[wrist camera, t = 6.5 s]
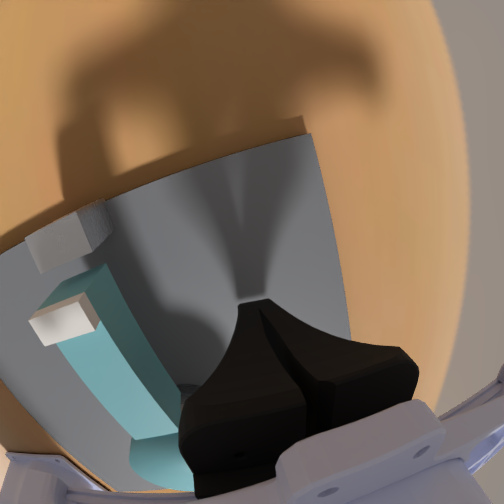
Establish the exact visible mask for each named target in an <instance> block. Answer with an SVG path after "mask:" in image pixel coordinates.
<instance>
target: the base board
mask: <svg viewBox="0 0 504 504" xmlns="http://www.w3.org/2000/svg"><path fill="white" fill-rule="evenodd" d="M105 202H106V204H107V207H108V210H109V212H110V215H111V217H112V220H113V223H114V225H115V228H116V229H115V230H114V231H113V232H112V233H111V234H110V235H109V236H108V237H107V238H106V239H105V240H104V241H103V242H102V243H101V244H100V245H99V246H98V247H97V248H96V249H95V250H94V251H93V252H91V253H89V254H86V255H84V256H81V257H79V258H77V259H74V260H72V261H70V262H67V263H65V264H63V265H60V266H58V267H56V268H53V269H51V270H49V271H47V272H44V273H42V274H40V272H39V270H38V268H37V266H36V264H35V261H34V259H33V257H32V255H31V252H30V250H29V248H28V245H27V243H26V241H25V240H24V241H23V242H21V243H19V244H17V245H15V246H14V247H12V248H10V249H8V250H7V251H5V252H3V253H2V254H0V379H1V380H2V381H3V383H4V384H5V385H6V386H7V388H8V389H9V390H10V392H11V393H12V394H13V395H14V396H15V398H16V399H17V400H18V401H19V402H20V404H21V405H22V406H23V407H24V408H25V409H26V410H27V412H28V413H29V414H30V415H31V416H32V417H33V418H34V419H35V420H36V421H37V422H38V424H39V425H40V426H41V427H42V428H43V429H44V430H45V431H46V432H47V433H48V434H49V435H50V436H51V437H52V438H53V439H54V440H55V441H57V442H58V443H59V444H60V445H61V446H62V447H63V448H64V449H65V450H66V451H67V452H68V453H70V454H71V455H72V456H73V457H74V458H75V459H76V460H78V461H79V462H80V463H81V464H82V465H84V466H85V467H86V468H87V469H89V470H90V471H91V472H92V473H94V474H95V475H96V476H97V477H99V478H100V479H101V480H103V481H104V482H105V483H107V484H108V485H110V486H111V487H112V488H114V489H115V490H117V491H118V492H123V491H147V490H160V489H168V488H164V487H161V486H158V485H155V484H153V483H151V482H148V481H147V480H145V479H143V478H142V477H140V476H139V475H138V474H136V473H135V472H134V470H133V469H132V468H131V466H130V463H129V453H130V444H131V438H132V436H131V435H130V434H129V433H128V432H127V431H126V430H125V429H124V428H123V427H122V426H121V425H120V424H119V423H118V422H117V420H116V419H115V418H114V417H113V416H112V415H111V414H110V413H109V412H108V411H107V409H106V408H105V407H104V406H103V405H102V404H101V403H100V401H99V400H98V399H97V398H96V397H95V395H94V394H93V393H92V392H91V391H90V389H89V388H88V387H87V386H86V384H85V383H84V382H83V380H82V379H81V378H80V377H79V375H78V374H77V373H76V371H75V370H74V369H73V367H72V366H71V365H70V363H69V362H68V360H67V359H66V358H65V356H64V355H63V353H62V352H61V350H60V349H59V347H58V346H57V344H56V343H55V344H51V345H48V346H44V345H43V343H42V342H41V340H40V339H39V337H38V335H37V334H36V332H35V331H34V329H33V328H32V326H31V324H30V323H29V321H28V320H29V319H30V318H31V317H32V315H33V314H34V313H35V312H36V311H37V309H38V308H39V307H40V306H41V305H42V303H43V302H44V301H45V300H46V299H47V298H48V296H49V295H50V294H51V293H52V292H53V291H54V290H55V288H56V287H57V286H58V285H59V284H60V283H61V282H62V281H64V280H66V279H69V278H71V277H73V276H76V275H78V274H80V273H83V272H85V271H88V270H90V269H92V268H95V267H97V266H100V265H102V264H105V263H106V264H107V266H108V268H109V270H110V272H111V274H112V276H113V278H114V280H115V282H116V284H117V286H118V288H119V290H120V292H121V294H122V296H123V298H124V300H125V302H126V304H127V305H128V307H129V309H130V311H131V313H132V315H133V316H134V318H135V320H136V322H137V324H138V325H139V327H140V329H141V330H142V332H143V334H144V336H145V337H146V339H147V341H148V342H149V344H150V346H151V347H152V349H153V351H154V352H155V354H156V355H157V357H158V359H159V360H160V362H161V363H162V365H163V367H164V368H165V370H166V371H167V373H168V374H169V376H170V377H171V379H172V380H173V382H174V383H175V385H178V384H193V385H199V386H202V385H203V384H204V383H205V381H206V380H207V379H208V378H209V377H210V376H211V374H212V373H213V372H214V370H215V369H216V368H217V366H218V364H219V363H220V361H221V360H222V358H223V356H224V354H225V352H226V350H227V348H228V346H229V344H230V341H231V339H232V336H233V333H234V330H235V326H236V322H237V316H238V308H237V306H238V305H239V304H240V303H246V302H251V301H257V300H262V299H267V298H269V299H271V300H272V301H273V302H275V303H276V304H277V305H279V306H280V307H281V308H283V309H284V310H286V311H287V312H289V313H290V314H292V315H293V316H295V317H296V318H298V319H300V320H301V321H303V322H305V323H307V324H309V325H310V326H312V327H314V328H317V329H319V330H321V331H324V332H326V333H329V334H331V335H334V336H337V337H340V338H344V339H347V340H351V334H350V326H349V318H348V311H347V304H346V297H345V291H344V284H343V278H342V272H341V266H340V261H339V255H338V249H337V244H336V239H335V234H334V229H333V224H332V219H331V214H330V210H329V205H328V200H327V196H326V192H325V187H324V183H323V179H322V175H321V170H320V166H319V162H318V158H317V155H316V151H315V147H314V143H313V139H312V136H311V133H310V134H303V135H299V136H295V137H291V138H287V139H284V140H280V141H276V142H272V143H269V144H265V145H261V146H258V147H254V148H251V149H247V150H244V151H241V152H237V153H234V154H231V155H227V156H224V157H221V158H218V159H215V160H212V161H209V162H206V163H203V164H200V165H197V166H194V167H191V168H188V169H185V170H182V171H180V172H177V173H174V174H171V175H169V176H166V177H163V178H161V179H158V180H155V181H153V182H150V183H148V184H145V185H142V186H140V187H137V188H135V189H132V190H130V191H128V192H125V193H123V194H120V195H118V196H116V197H113V198H111V199H109V200H106V201H105Z"/></svg>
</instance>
